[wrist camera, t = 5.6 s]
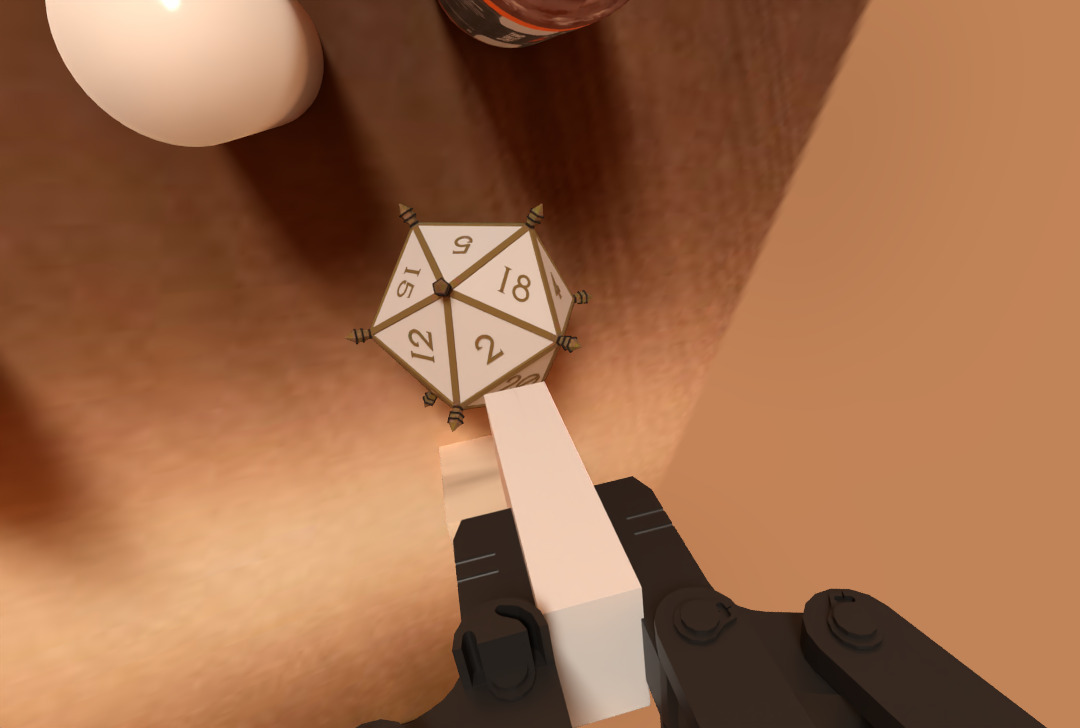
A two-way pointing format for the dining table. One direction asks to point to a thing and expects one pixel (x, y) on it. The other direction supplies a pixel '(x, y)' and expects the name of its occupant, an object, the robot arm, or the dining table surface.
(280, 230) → the dining table surface
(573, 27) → the supplement bottle
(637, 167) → the dining table surface
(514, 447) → the robot arm
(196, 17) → the white upright cylinder
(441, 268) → the game die
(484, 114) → the dining table surface
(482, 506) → the beech block
